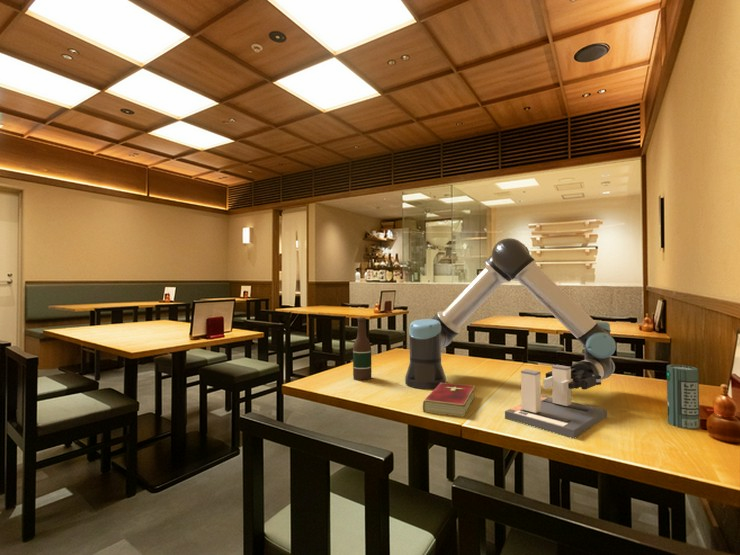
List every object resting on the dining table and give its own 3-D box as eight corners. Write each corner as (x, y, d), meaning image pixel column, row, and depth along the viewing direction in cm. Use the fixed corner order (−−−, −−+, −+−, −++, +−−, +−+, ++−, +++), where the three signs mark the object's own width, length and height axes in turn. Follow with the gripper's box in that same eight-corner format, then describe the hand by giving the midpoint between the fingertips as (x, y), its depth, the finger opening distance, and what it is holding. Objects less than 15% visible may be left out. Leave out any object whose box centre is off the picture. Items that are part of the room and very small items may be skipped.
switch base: (504, 418, 104) (504, 370, 104) (542, 401, 118) (541, 359, 119) (573, 438, 90) (573, 383, 91) (606, 417, 105) (605, 369, 105)
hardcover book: (422, 413, 110) (422, 399, 110) (439, 393, 129) (439, 381, 129) (464, 419, 105) (464, 404, 105) (475, 397, 124) (475, 385, 124)
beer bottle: (349, 377, 151) (349, 317, 152) (367, 375, 155) (366, 316, 155) (357, 381, 144) (356, 318, 145) (375, 379, 148) (374, 317, 148)
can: (687, 420, 101) (686, 364, 102) (704, 429, 95) (703, 370, 96) (662, 420, 102) (661, 364, 102) (679, 428, 96) (677, 369, 96)
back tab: (552, 402, 110) (552, 366, 110) (557, 400, 112) (556, 364, 112) (566, 406, 107) (566, 368, 107) (571, 403, 108) (570, 366, 109)
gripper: (616, 390, 114) (586, 406, 99) (558, 379, 127) (524, 392, 112) (616, 365, 114) (585, 378, 99) (558, 356, 127) (523, 367, 112)
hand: (553, 385), depth 106 cm, fingers closed on back tab, 4 cm apart
